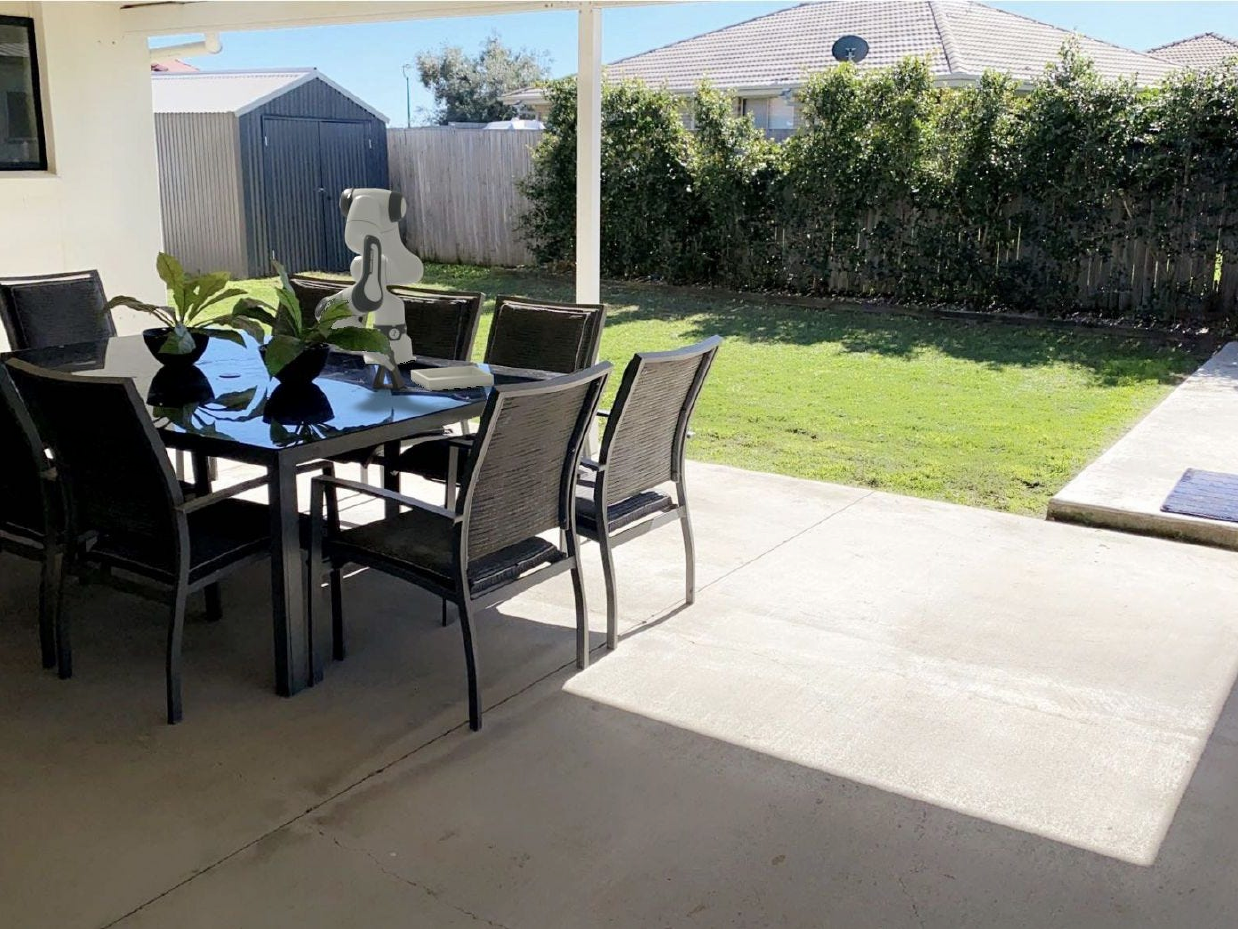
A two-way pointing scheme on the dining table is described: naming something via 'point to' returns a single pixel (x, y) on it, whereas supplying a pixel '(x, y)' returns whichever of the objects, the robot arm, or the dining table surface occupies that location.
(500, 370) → the dining table surface
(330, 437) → the dining table surface
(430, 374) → the tray
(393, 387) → the dark brown triangular stand
